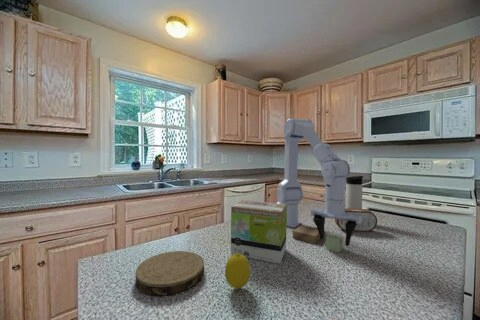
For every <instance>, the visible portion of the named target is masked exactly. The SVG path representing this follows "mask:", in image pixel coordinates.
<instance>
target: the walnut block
mask: <svg viewBox="0 0 480 320" xmlns="http://www.w3.org/2000/svg"><path fill="white" fill-rule="evenodd" d="M292 239H294V240H298V241H302V242H306V243H310V244H314V245H316V244H317V243H318V242H319V241H320V236H319V232H318V229H317V227H313V226H308V225H303V224H302V225H299V226H297V227H296V228H295V229H293V230H292Z"/></svg>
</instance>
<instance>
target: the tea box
mask: <svg viewBox="0 0 480 320" xmlns="http://www.w3.org/2000/svg"><path fill="white" fill-rule="evenodd" d="M230 212H231V213H230V215H231V216H230V255H231V256H232V255H234V254H236V253H239V254H241V255H243V256H244V257H246V258H248V259H255V260H258V261H265V262H270V263H274V264H278V265H280V264H282V260H283V257H284V256H285V252H286V248H287V227H288V226H287V204H278V203H277V202H267V201H255V200H244V199H243V200H240V201H239V202H237V203H236V204H234V205H232V206H231V209H230Z"/></svg>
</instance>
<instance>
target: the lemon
mask: <svg viewBox="0 0 480 320" xmlns="http://www.w3.org/2000/svg"><path fill="white" fill-rule="evenodd" d="M249 263H250V262H249V259H247V257H244V256H243V255H241V254H239V253H236V254H234V255H231V256H229V258H228V259H227V261H226V264H225V270H224V275H225V280H226V282H227V284H229V286H230V287H232V288H234V289H236V290H240V289H242V288H244V287H245V286H246V285H247V283H248V282H249V280H250V277H251V268H250V267H251V266H250V264H249Z"/></svg>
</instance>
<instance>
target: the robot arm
mask: <svg viewBox="0 0 480 320" xmlns="http://www.w3.org/2000/svg"><path fill="white" fill-rule="evenodd" d="M304 139H305V140H306V141H307V143H309V145H310V146H311V147H312V148H313V151H312V154H313V156H314V158H315V159H316V160H317V162H318V163H319V164H320V166H321V169H320V170H321V175H322V176H323V182H324V185H325V188H324V189H325V193H324V194H325V196H324V199H325V200H324V203H325V204H324V209H322V208H321V209H320V208H312V209H311V210H310V216H312V217H313V218H312V220H313V222H314V224H315V227H316V228H317V229H318V232H319V236H320V240H321V241H324V239H325V225H326V224H325V223H326V218H327V219H333V220H335V219H338V220H344V221H348V222H347V223H346V224H345V227H346V231H345V246H347V247H349V245H350V243H351V239H352V235H353V233H354V232H355V231H354V229H355V227H356V225H357V224H360V223H361V216H358V215H353V214H349V213H345V209H346V179H347V177H349V176H350V173H351V168H350V164H349V163H348V161H347V160H346V159H342V158H340V157H339V156H338V155H337V154H336V153H335V151H334V150H333V149H332V146H331V145H330V144H328V143H326V142H323V141H322V140H321V138H320V136H319V135H318V133H317V132H316V129H315V124H314V123H313V120H311V119H308V118H307V119H306V118H305V119H304V118H303V119H302V118H287V119H286V121H285V122H284V124H283V140H284V173H283V174H284V179H283V180H282V181H281V182H279V183H278V187H277V190H276V199H277V202H276V203H278V204H287V226H286V227H291V228H297V227H299V226H300V224H302V223H303V221H301V220H299V204H300V203H301V201H302V200H303V197H304V192H303V185H302V183H300V182H299V181H298V159H299V158H298V157H299V156H298V154H299V153H298V151H299V150H298V149H299V143H300V141H302V140H304ZM320 240H319V241H320Z"/></svg>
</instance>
